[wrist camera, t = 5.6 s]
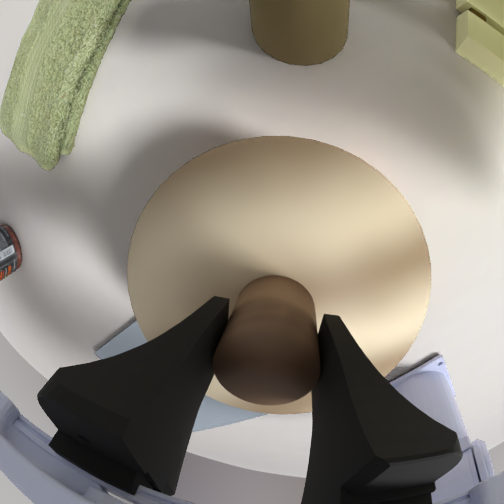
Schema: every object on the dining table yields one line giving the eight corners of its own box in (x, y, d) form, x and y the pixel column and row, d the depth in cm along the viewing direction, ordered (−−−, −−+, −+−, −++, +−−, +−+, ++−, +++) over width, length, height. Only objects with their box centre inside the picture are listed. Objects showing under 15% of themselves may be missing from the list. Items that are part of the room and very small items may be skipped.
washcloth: (8, 133, 19) (-13, 137, 16) (66, -14, 11) (47, -21, 8) (72, 172, 19) (46, 180, 16) (156, -17, 12) (136, -32, 9)
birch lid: (451, 333, 12) (487, 388, 8) (242, 426, 17) (228, 481, 12) (324, 74, 9) (341, 24, 5) (91, 255, 14) (33, 289, 9)
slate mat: (293, 401, 24) (292, 405, 24) (190, 429, 30) (189, 432, 30) (176, 289, 21) (174, 292, 21) (96, 350, 27) (94, 353, 26)
